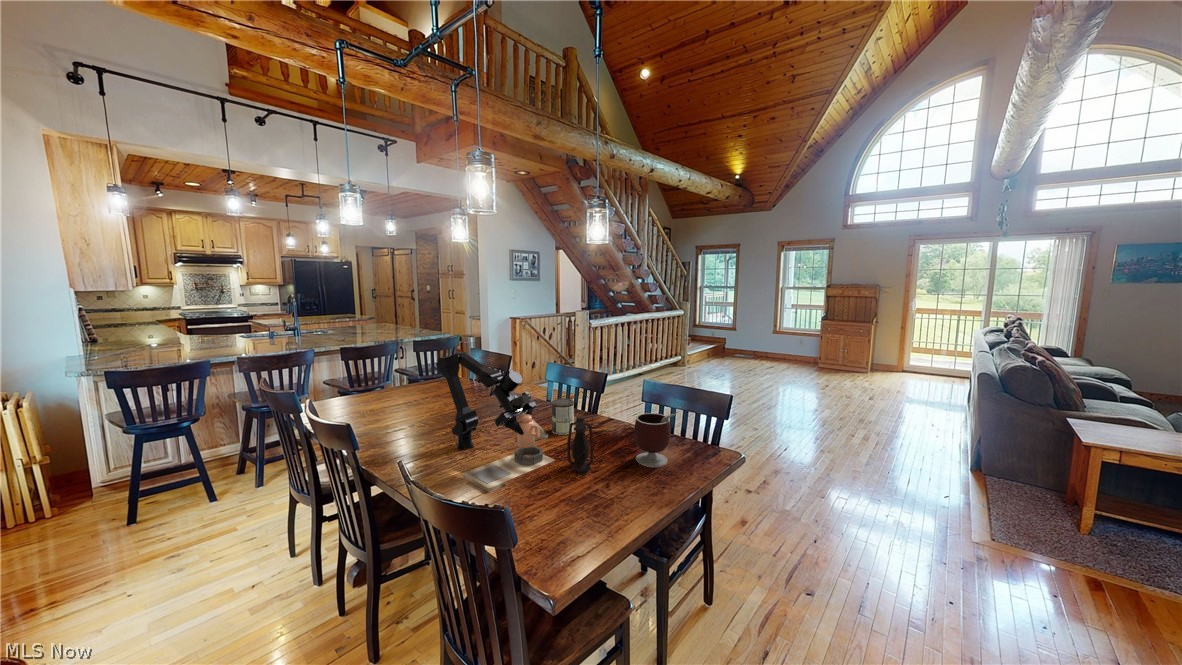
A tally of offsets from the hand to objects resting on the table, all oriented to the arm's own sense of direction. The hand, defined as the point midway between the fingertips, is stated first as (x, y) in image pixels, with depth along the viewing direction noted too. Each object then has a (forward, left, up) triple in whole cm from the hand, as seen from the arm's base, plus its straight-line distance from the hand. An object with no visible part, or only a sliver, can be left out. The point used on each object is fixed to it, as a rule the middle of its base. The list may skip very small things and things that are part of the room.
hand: (528, 431), depth 159 cm
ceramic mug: (-23, +11, -14) cm, 29 cm away
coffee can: (-27, +26, -14) cm, 40 cm away
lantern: (+12, +16, -14) cm, 24 cm away
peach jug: (0, 0, -5) cm, 5 cm away
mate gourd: (+18, +45, -14) cm, 50 cm away
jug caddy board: (+1, -7, -13) cm, 15 cm away
